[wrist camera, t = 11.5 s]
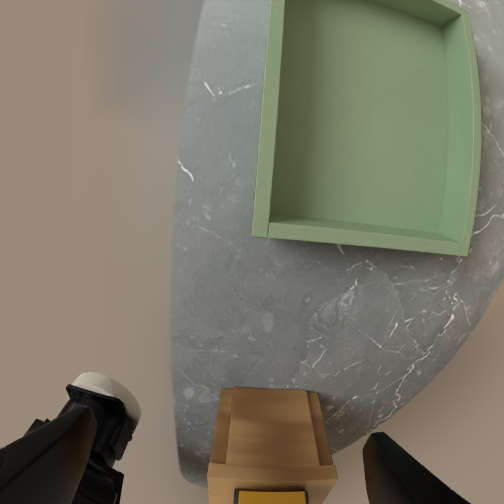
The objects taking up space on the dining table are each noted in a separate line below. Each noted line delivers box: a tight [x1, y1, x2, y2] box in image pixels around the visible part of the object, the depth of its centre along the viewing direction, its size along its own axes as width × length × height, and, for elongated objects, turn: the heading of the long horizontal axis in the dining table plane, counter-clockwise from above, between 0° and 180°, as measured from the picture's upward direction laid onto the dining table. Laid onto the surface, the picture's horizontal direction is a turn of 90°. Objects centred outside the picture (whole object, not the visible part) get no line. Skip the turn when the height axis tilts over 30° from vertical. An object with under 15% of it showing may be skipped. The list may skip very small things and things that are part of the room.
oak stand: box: [207, 387, 338, 504], centre depth 19 cm, size 8×8×9 cm
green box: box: [252, 0, 482, 257], centre depth 14 cm, size 14×18×4 cm
